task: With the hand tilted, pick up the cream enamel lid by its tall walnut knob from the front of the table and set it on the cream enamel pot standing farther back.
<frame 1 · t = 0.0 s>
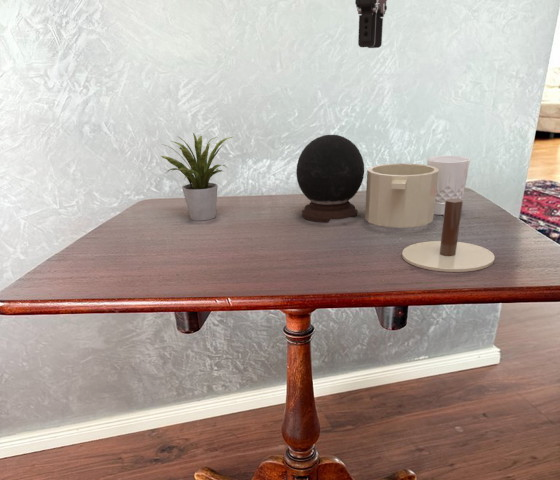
hand: (370, 47, 78), 29 cm above the table, tool pointing down, fingers open, 8 cm apart
white cup: (442, 212, 109), on the table
pot: (398, 221, 104), on the table
lid: (447, 257, 83), point 1 cm above the table
house plant: (207, 216, 112), on the table
black ball on stand: (329, 216, 110), on the table
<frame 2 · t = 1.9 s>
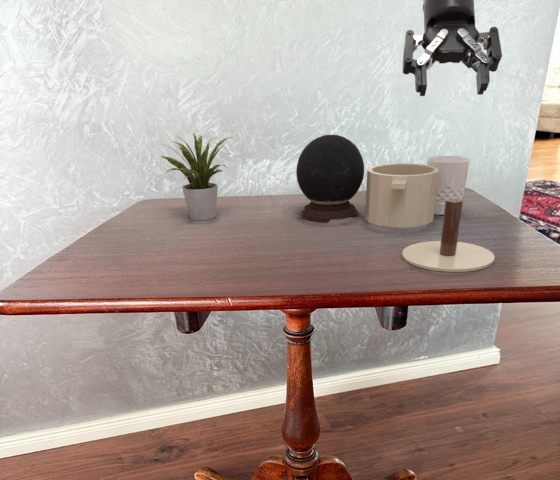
hand: (452, 91, 81), 23 cm above the table, tool tilted 45°, fingers open, 8 cm apart
nothing on the table moved.
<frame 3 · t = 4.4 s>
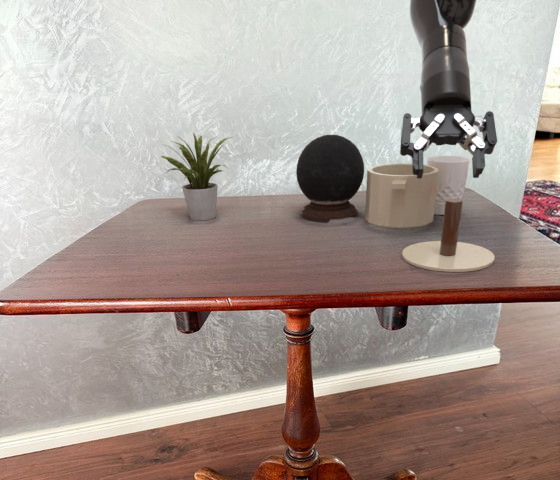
hand: (448, 175, 83), 11 cm above the table, tool tilted 45°, fingers open, 8 cm apart
nothing on the table moved.
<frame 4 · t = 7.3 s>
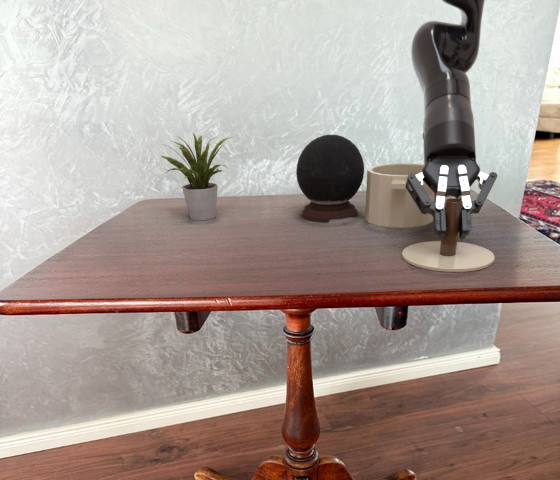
hand: (453, 236, 79), 4 cm above the table, tool tilted 45°, fingers closed on lid, 2 cm apart
lid: (447, 257, 83), point 1 cm above the table, touching gripper
everything else where it was.
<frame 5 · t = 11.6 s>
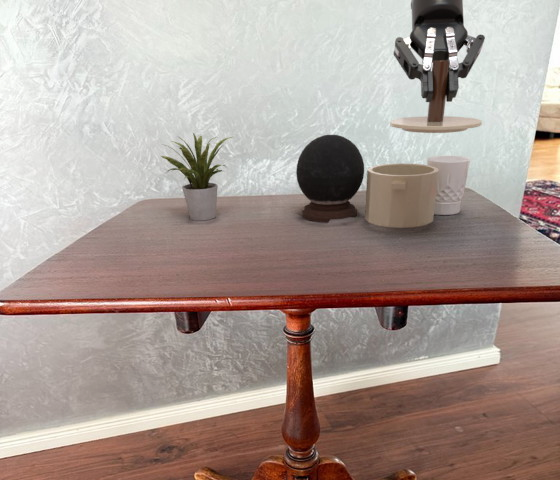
hand: (440, 97, 79), 22 cm above the table, tool tilted 45°, fingers closed on lid, 2 cm apart
lid: (434, 124, 83), point 18 cm above the table, touching gripper
everything else where it was.
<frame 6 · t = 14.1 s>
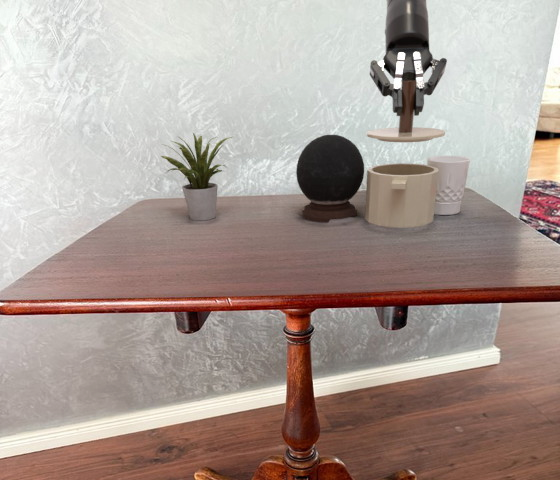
hand: (408, 112, 92), 19 cm above the table, tool tilted 45°, fingers closed on lid, 2 cm apart
lid: (405, 134, 96), point 15 cm above the table, touching gripper
everything else where it was.
when the fingers open (13 cm above the table, at t = 15.9 s): lid stays where it is, resting on pot.
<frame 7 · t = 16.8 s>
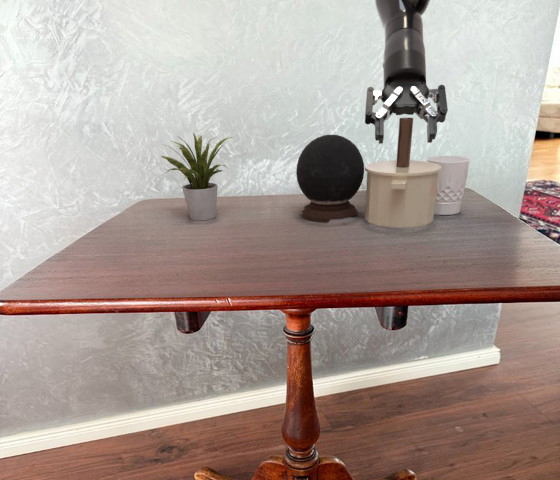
hand: (405, 140, 95), 15 cm above the table, tool tilted 45°, fingers open, 8 cm apart
lid: (402, 169, 99), point 9 cm above the table, touching pot
everything else where it was.
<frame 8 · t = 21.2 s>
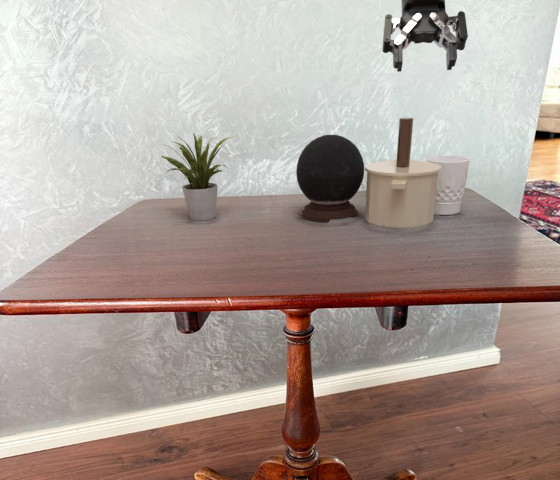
hand: (425, 67, 93), 26 cm above the table, tool tilted 45°, fingers open, 8 cm apart
nothing on the table moved.
at the end: lid 0.1 cm off-centre on the pot, point 9.5 cm above the pot's base; lid tilted 0°; the gripper is holding nothing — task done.
